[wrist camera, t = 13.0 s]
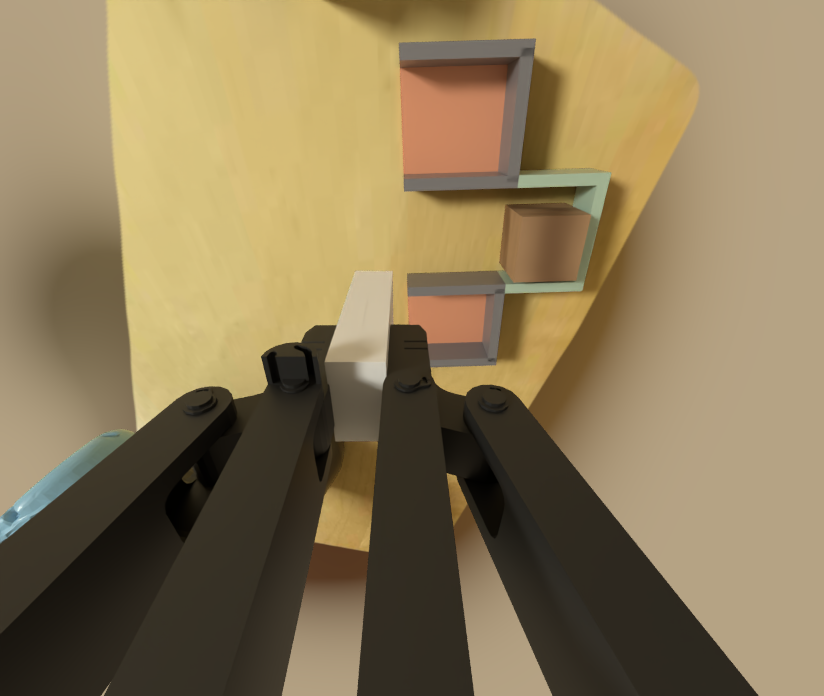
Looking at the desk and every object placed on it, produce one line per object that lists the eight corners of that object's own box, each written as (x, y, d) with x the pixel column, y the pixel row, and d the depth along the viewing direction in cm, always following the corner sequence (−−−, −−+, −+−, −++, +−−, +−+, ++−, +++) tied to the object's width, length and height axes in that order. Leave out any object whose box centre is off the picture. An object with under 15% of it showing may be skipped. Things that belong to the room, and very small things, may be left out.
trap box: (409, 349, 44) (410, 367, 41) (399, 52, 29) (398, 42, 26) (552, 345, 44) (564, 362, 41) (617, 46, 29) (645, 35, 26)
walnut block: (499, 262, 39) (513, 282, 34) (505, 204, 35) (522, 216, 30) (553, 260, 39) (576, 280, 34) (564, 202, 36) (591, 214, 30)
